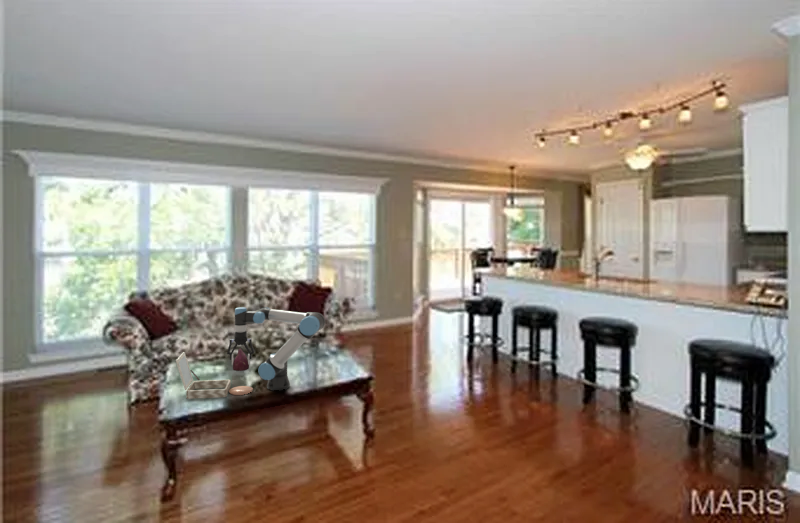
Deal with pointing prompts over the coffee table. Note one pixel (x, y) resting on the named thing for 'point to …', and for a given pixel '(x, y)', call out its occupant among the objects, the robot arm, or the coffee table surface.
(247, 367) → the dark red pyramid
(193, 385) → the cold frame
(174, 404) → the coffee table surface
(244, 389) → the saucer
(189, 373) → the lid
